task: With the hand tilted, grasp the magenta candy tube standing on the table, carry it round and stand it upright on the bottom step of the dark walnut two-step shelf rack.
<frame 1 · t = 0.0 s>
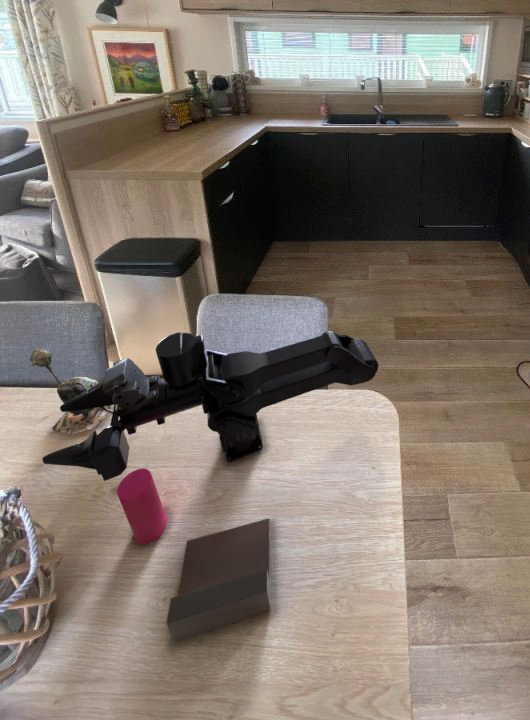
hand: (52, 433, 58), 17 cm above the table, tool horizontal, fingers open, 9 cm apart
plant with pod: (88, 420, 79), on the table
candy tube: (151, 527, 61), on the table
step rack: (228, 567, 57), on the table
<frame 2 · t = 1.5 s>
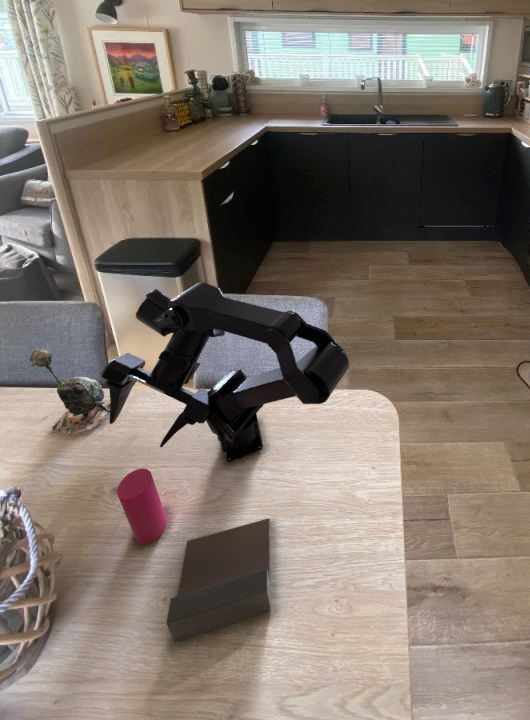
hand: (136, 434, 66), 10 cm above the table, tool tilted 40°, fingers open, 9 cm apart
nothing on the table moved.
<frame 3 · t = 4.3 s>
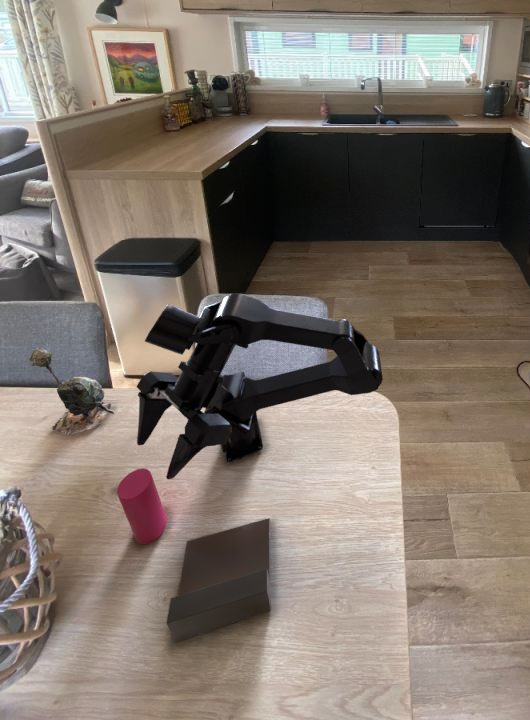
hand: (154, 460, 61), 10 cm above the table, tool tilted 45°, fingers open, 9 cm apart
nothing on the table moved.
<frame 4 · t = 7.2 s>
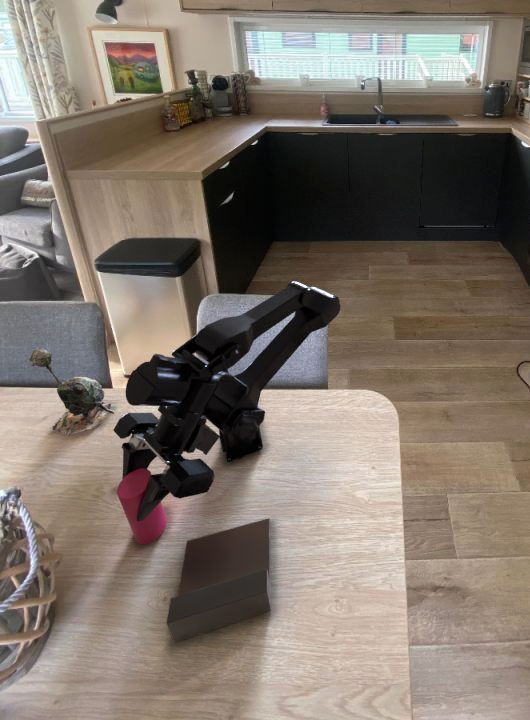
hand: (131, 510, 58), 7 cm above the table, tool tilted 45°, fingers closed on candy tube, 4 cm apart
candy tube: (151, 527, 61), on the table, touching gripper
everything else where it was.
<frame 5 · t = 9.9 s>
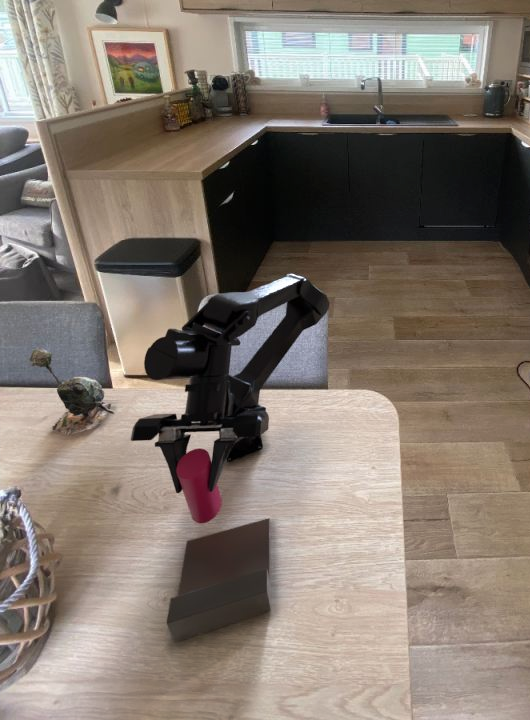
hand: (195, 491, 57), 10 cm above the table, tool tilted 45°, fingers closed on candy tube, 4 cm apart
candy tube: (206, 507, 61), point 4 cm above the table, touching gripper
everything else where it was.
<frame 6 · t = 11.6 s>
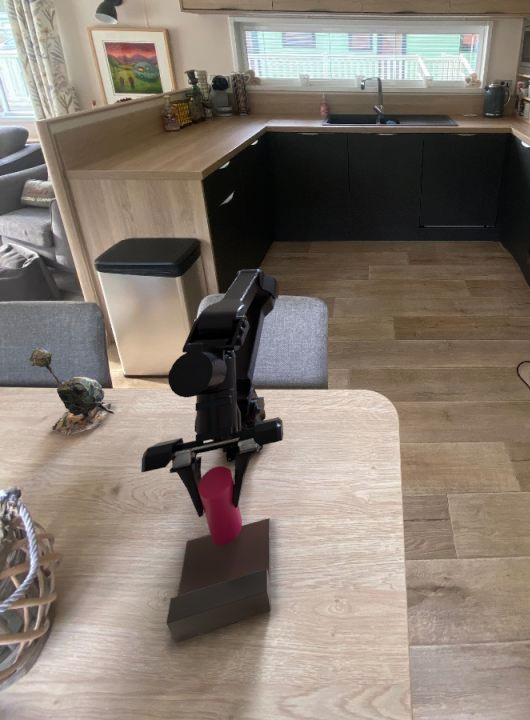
hand: (219, 511, 55), 10 cm above the table, tool tilted 45°, fingers closed on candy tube, 4 cm apart
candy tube: (226, 528, 59), point 3 cm above the table, touching gripper
everything else where it was.
when the fingers open (9 cm above the table, at t = 12.6 s): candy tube stays where it is, resting on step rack.
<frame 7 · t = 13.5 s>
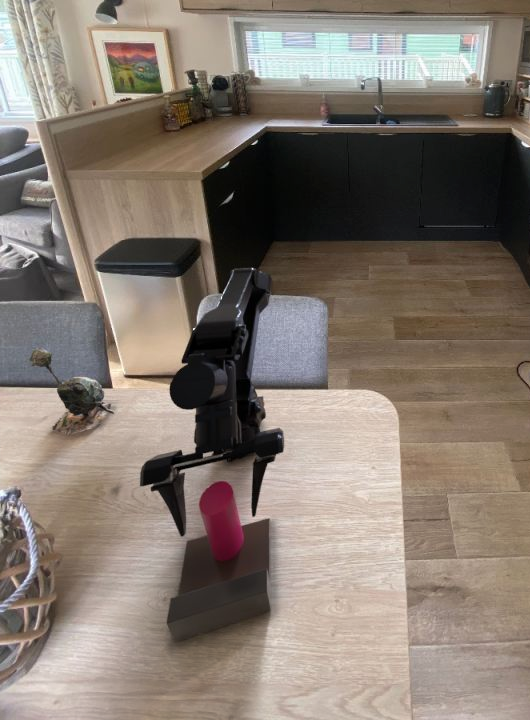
hand: (219, 525, 54), 9 cm above the table, tool tilted 45°, fingers open, 9 cm apart
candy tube: (228, 543, 58), point 2 cm above the table, touching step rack
everything else where it was.
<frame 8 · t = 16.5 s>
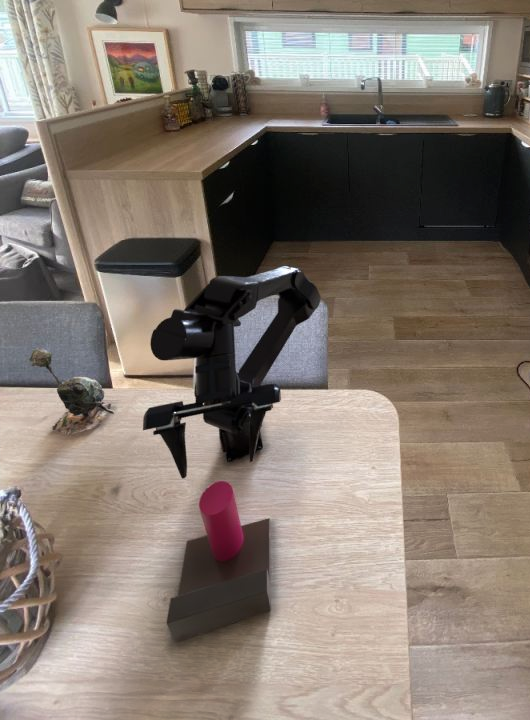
hand: (218, 469, 57), 14 cm above the table, tool tilted 45°, fingers open, 9 cm apart
nothing on the table moved.
at the end: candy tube 0.5 cm from the target spot on the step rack, point 2.0 cm above the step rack's base; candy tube tilted 0°; the gripper is holding nothing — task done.
